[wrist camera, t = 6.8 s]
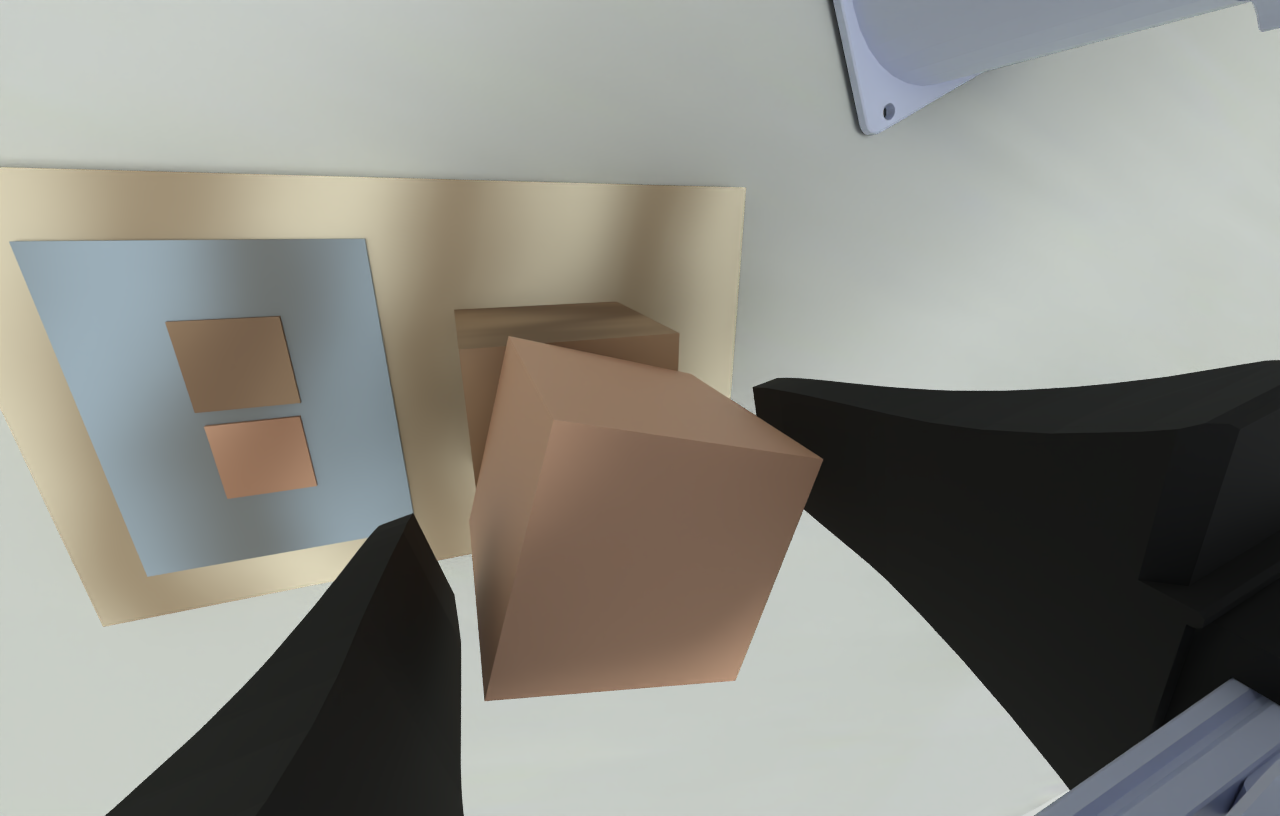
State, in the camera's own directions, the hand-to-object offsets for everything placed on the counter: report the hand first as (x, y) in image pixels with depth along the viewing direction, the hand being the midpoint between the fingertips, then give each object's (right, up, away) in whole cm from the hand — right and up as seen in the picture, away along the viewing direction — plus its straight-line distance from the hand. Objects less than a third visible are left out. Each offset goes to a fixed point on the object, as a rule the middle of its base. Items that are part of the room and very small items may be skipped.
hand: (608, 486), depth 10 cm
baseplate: (-6, +2, +6) cm, 9 cm away
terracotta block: (-1, +1, +2) cm, 2 cm away
